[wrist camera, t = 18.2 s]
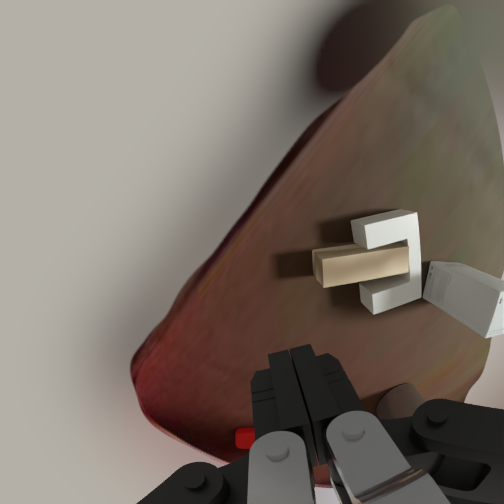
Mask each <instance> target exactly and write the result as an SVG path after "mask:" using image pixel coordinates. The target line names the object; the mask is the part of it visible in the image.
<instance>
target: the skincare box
mask: <svg viewBox="0 0 504 504" xmlns="http://www.w3.org/2000/svg"><path fill="white" fill-rule="evenodd" d="M423 298H424V299H425V300H427V301H429V302H430V303H432V304H433V305H435V306H436V307H438V308H440V309H441V310H443V311H444V312H446V313H447V314H449V315H451V316H452V317H454V318H455V319H457V320H458V321H460V322H461V323H463V324H464V325H466V326H467V327H469V328H470V329H472V330H473V331H475V332H476V333H478V334H479V335H481V336H482V337H484V338H489V337H493V336H497V335H500V334H504V281H503V280H501V279H498V278H496V277H493V276H491V275H489V274H486V273H484V272H481V271H479V270H476V269H474V268H471V267H469V266H466V265H464V264H461V263H455V262H442V261H431V262H430V266H429V270H428V275H427V279H426V284H425V288H424V292H423Z"/></svg>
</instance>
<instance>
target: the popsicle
mask: <svg viewBox="0 0 504 504" xmlns="http://www.w3.org/2000/svg"><path fill="white" fill-rule="evenodd" d="M254 441H255V433H254V427H242V428H238V429H237V430H236V433H235V443H236V446H237V447H238V448H240V449H251V447H252V445H253V444H254Z"/></svg>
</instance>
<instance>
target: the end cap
mask: <svg viewBox="0 0 504 504" xmlns="http://www.w3.org/2000/svg"><path fill="white" fill-rule="evenodd" d="M350 221H351V227H352V233H353V240H354V243H356V244H358V245H360V246H362V247H364V248H366V249H372V248H376V247H379V246H383V245H387V244H390V243H394V242H397V241H398V242H400V243H403V244H405V245H407V246H409V267H408V272H407V273H402V274H397V275H392V276H387V277H382V278H376V279H371V280H367V281H364V282H361V283H359V289H360V299H361V303H362V304H363V305H364V306H365V307H366V308H367V309H368V310H369V311H370V312H371V313H372V314H373V315H374V314H377V313H380V312H383V311H386V310H389V309H392V308H394V307H397V306H400V305H403V304H405V303H408V302H411V301H413V300H416V299H418V298H421V254H420V239H419V227H418V217H417V213H416V212H411V211H407V210H401V209H398V210H394V211H389V212H385V213H380V214H376V215H372V216H368V217H363V218H359V219H355V220H350Z"/></svg>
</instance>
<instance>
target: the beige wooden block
mask: <svg viewBox="0 0 504 504" xmlns="http://www.w3.org/2000/svg"><path fill="white" fill-rule="evenodd" d="M312 258H313V273H314V276H315V278H316V279H317V280H318V281H319V283H320V284H321V285H322V286H323V288H325V287H331V286H337V285H343V284H349V283H355V282H360V281H366V280H371V279H376V278H382V277H387V276H392V275H397V274H402V273H407V272H408V267H409V246H407V245H405V244H403V243H400V242H398V241H397V242H394V243H390V244H387V245H383V246H379V247H376V248H372V249H366V248H364V247H362V246H360V245H358V244H351V245H343V246H336V247H329V248H321V249H314V250H312Z"/></svg>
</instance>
